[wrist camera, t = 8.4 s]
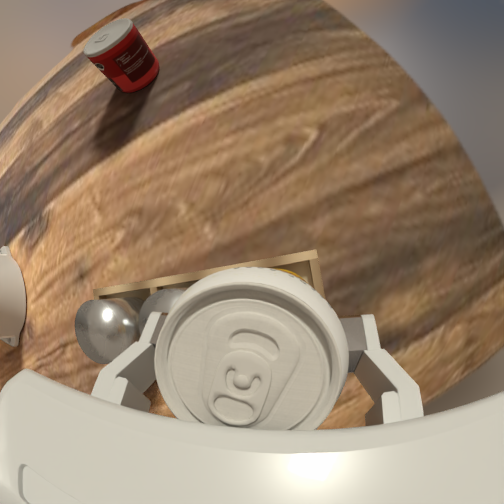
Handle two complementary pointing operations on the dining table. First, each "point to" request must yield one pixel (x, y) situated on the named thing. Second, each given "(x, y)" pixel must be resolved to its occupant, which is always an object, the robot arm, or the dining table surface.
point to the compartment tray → (297, 263)
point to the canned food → (122, 56)
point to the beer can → (252, 352)
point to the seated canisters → (118, 322)
